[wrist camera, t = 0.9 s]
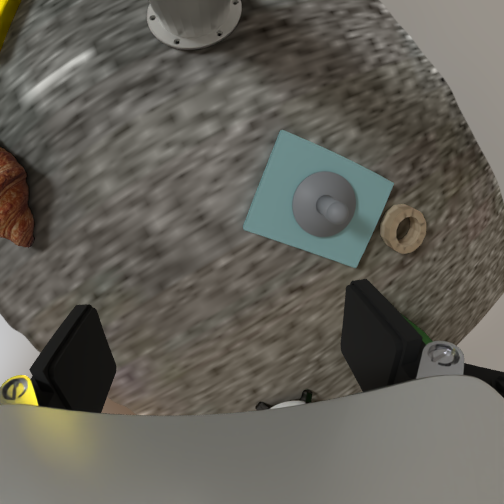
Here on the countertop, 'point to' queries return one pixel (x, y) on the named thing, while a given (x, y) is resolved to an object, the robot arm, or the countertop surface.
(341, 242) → the teal plate with knob
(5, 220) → the pastry
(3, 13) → the element tile
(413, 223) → the ring
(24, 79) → the countertop surface
